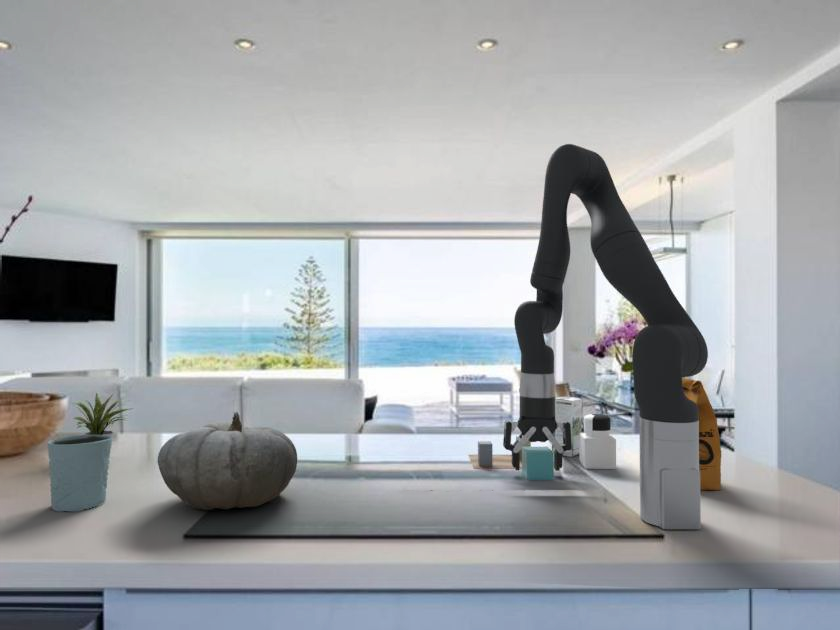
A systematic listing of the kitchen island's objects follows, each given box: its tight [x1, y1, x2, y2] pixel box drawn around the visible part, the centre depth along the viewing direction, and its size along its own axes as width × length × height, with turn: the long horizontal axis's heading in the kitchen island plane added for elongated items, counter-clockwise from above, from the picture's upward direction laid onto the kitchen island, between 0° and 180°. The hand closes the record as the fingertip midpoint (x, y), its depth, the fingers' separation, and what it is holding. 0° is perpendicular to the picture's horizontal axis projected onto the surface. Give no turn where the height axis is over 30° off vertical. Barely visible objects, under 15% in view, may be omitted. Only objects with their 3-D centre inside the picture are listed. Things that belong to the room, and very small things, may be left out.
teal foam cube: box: [521, 446, 555, 481], centre depth 120 cm, size 6×6×7 cm
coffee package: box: [682, 377, 722, 491], centre depth 118 cm, size 10×12×22 cm
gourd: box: [157, 411, 298, 511], centre depth 106 cm, size 25×25×17 cm
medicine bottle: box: [578, 413, 617, 470], centre depth 133 cm, size 7×7×12 cm
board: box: [468, 435, 532, 470], centre depth 133 cm, size 14×16×6 cm
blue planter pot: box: [47, 434, 113, 512], centre depth 104 cm, size 10×10×12 cm
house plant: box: [70, 392, 134, 452], centre depth 139 cm, size 14×14×16 cm
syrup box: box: [551, 396, 583, 458], centre depth 145 cm, size 6×6×14 cm
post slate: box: [477, 440, 493, 466], centre depth 130 cm, size 3×3×5 cm
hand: (537, 469), depth 120 cm, fingers open, 8 cm apart
